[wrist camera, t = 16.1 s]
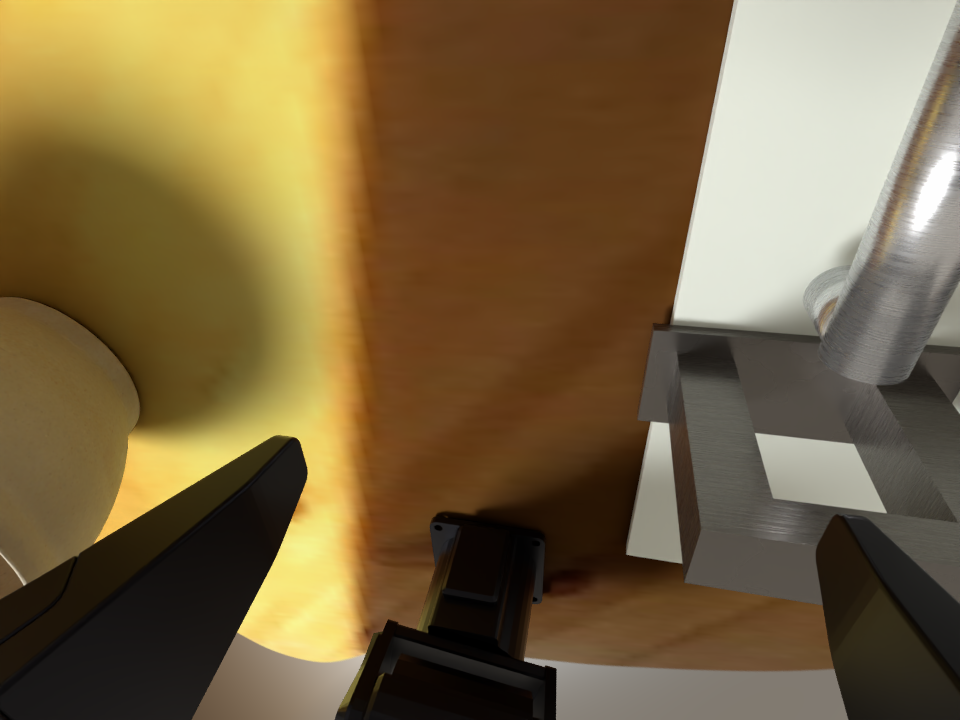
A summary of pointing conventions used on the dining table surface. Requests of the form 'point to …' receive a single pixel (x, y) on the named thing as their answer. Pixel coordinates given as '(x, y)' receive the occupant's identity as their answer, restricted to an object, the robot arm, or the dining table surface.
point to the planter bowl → (56, 438)
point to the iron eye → (810, 415)
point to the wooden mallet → (901, 244)
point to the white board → (793, 208)
